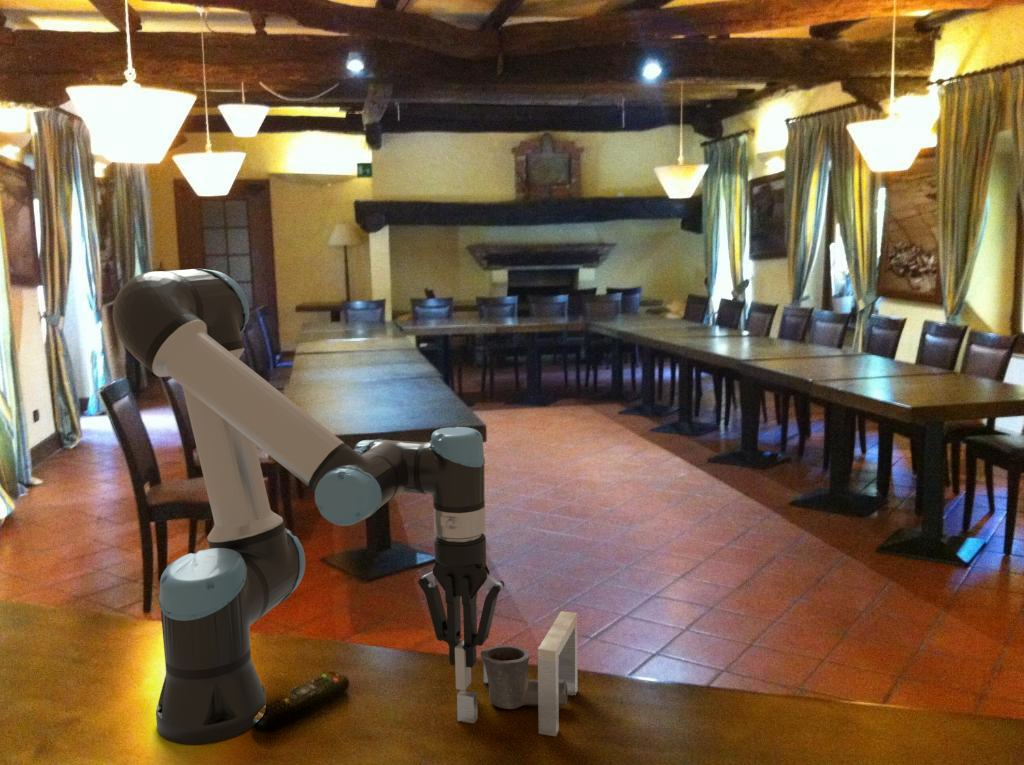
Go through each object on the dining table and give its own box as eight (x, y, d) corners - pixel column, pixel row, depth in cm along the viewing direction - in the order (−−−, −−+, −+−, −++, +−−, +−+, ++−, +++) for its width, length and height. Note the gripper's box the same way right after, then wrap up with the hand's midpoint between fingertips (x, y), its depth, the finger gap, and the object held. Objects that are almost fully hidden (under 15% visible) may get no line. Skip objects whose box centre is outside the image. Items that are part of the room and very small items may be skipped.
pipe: (564, 718, 126) (564, 666, 125) (477, 712, 128) (476, 660, 127) (569, 697, 132) (568, 647, 131) (485, 691, 134) (484, 641, 133)
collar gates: (457, 721, 126) (455, 638, 124) (487, 678, 138) (485, 602, 136) (556, 736, 121) (555, 651, 119) (577, 690, 134) (577, 612, 132)
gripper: (408, 538, 127) (413, 691, 130) (494, 546, 123) (497, 703, 126) (428, 522, 134) (432, 668, 137) (510, 529, 130) (512, 679, 134)
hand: (463, 685), depth 132 cm, fingers closed
